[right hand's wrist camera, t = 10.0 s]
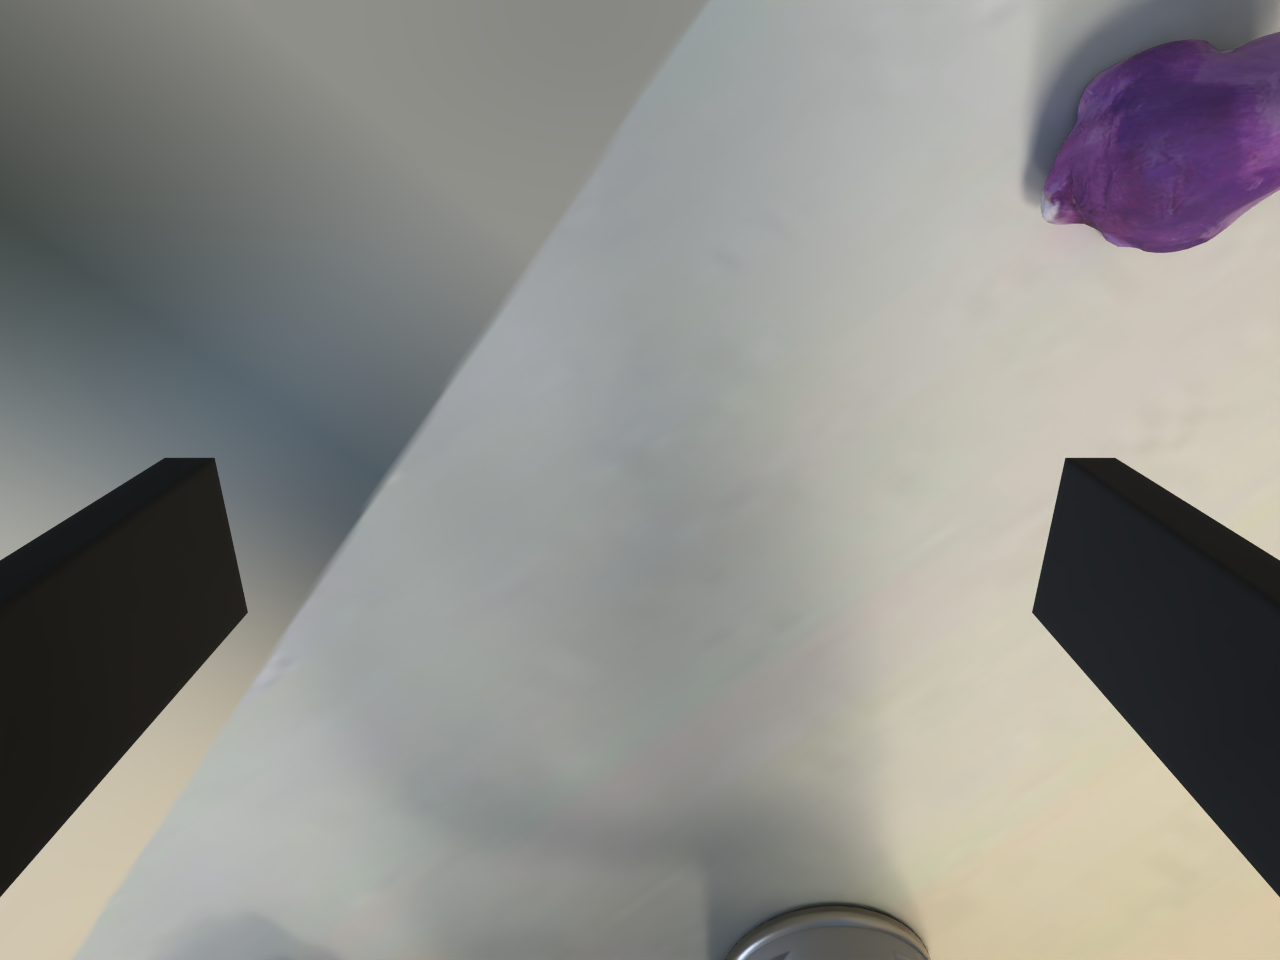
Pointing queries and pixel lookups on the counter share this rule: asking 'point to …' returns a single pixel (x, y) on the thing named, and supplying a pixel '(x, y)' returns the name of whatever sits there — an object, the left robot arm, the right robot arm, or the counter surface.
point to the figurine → (1171, 145)
